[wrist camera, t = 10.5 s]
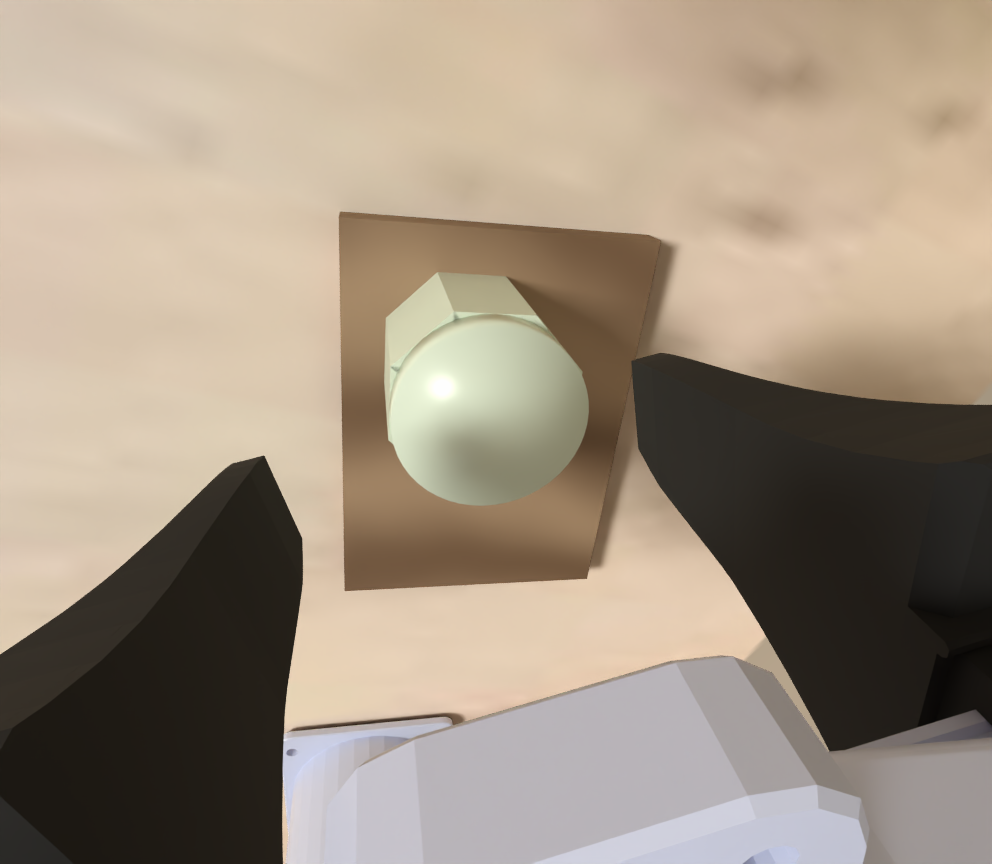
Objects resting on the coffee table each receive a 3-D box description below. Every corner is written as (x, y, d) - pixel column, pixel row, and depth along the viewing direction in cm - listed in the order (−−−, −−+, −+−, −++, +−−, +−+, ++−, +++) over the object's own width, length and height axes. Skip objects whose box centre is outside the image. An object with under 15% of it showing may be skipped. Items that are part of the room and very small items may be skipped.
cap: (552, 279, 20) (605, 330, 15) (530, 424, 22) (571, 503, 18) (386, 269, 18) (393, 321, 14) (383, 422, 21) (388, 507, 17)
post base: (579, 563, 27) (611, 631, 23) (345, 574, 25) (342, 650, 21) (648, 235, 20) (706, 262, 17) (340, 211, 18) (334, 238, 15)
